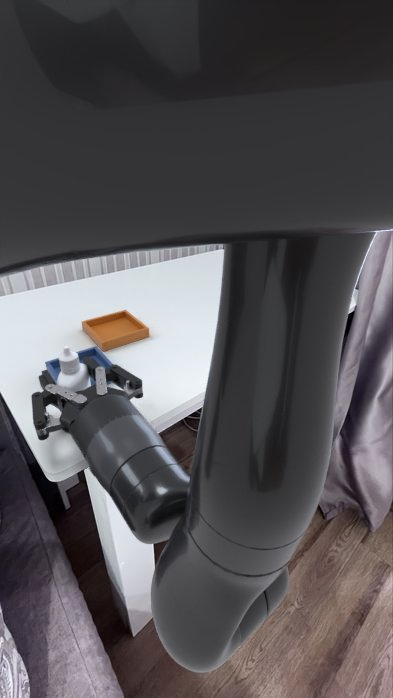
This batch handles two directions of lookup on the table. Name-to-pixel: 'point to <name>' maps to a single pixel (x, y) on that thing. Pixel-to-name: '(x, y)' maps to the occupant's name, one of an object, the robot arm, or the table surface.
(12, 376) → the table surface
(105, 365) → the blue tray
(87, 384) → the eye dropper bottle
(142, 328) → the amber tray
